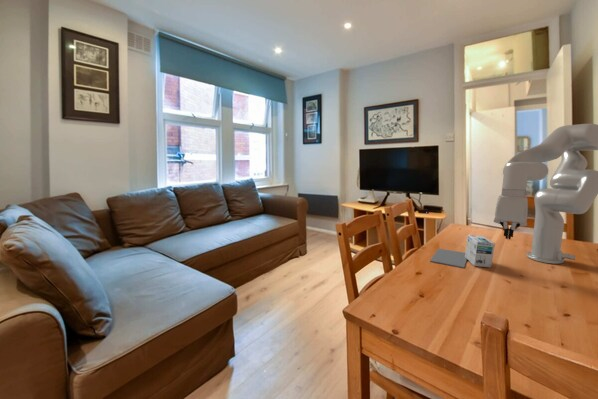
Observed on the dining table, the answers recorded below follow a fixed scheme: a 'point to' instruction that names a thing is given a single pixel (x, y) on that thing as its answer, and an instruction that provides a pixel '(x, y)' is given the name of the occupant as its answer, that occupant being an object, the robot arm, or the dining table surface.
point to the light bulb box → (479, 251)
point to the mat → (449, 258)
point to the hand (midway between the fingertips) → (507, 238)
